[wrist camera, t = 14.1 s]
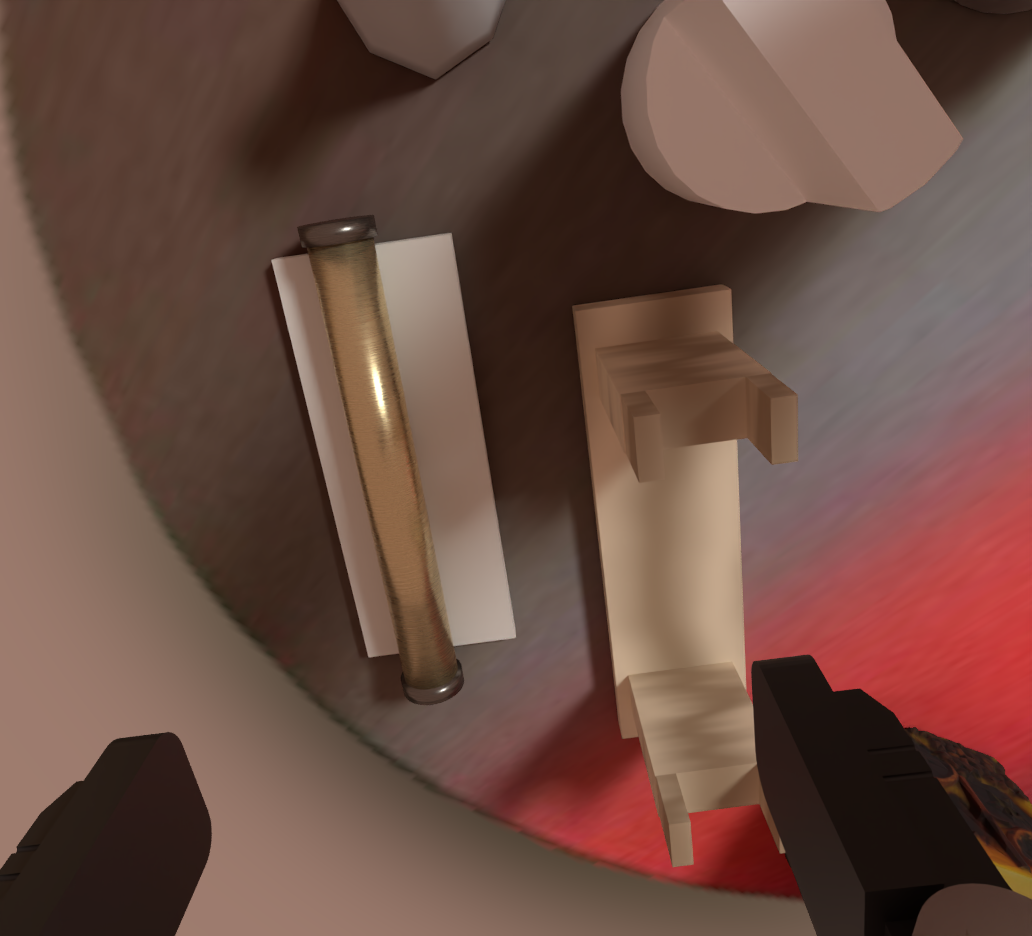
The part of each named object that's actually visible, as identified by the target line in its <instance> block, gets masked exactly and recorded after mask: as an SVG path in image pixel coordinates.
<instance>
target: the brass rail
mask: <svg viewBox="0 0 1032 936" xmlns="http://www.w3.org/2000/svg"><path fill="white" fill-rule="evenodd" d="M297 229H298V233H299V237H300V242H301V246H302V247H303V248H307V250H308V255H309V259H310V264H311V268H312V272H313V277H314V281H315V286H316V290H317V294H318V299H319V303H320V308H321V312H322V316H323V321H324V325H325V330H326V334H327V338H328V343H329V347H330V352H331V356H332V360H333V365H334V369H335V374H336V378H337V382H338V387H339V391H340V396H341V400H342V404H343V409H344V413H345V418H346V422H347V427H348V431H349V435H350V440H351V444H352V449H353V453H354V457H355V462H356V466H357V471H358V475H359V479H360V484H361V488H362V493H363V497H364V501H365V506H366V510H367V515H368V519H369V523H370V528H371V532H372V537H373V541H374V545H375V550H376V554H377V559H378V563H379V567H380V572H381V576H382V581H383V585H384V589H385V594H386V598H387V603H388V607H389V612H390V616H391V620H392V625H393V629H394V634H395V638H396V642H397V647H398V651H399V656H400V660H401V664H402V669H403V672H402V675H401V682H402V686H403V691H404V695H405V697H406V698H407V699H408V700H409V701H411V702H413V703H415V704H420V705H432V704H438V703H441V702H444V701H446V700H448V699H450V698H452V697H453V696H455V695H456V694H457V693H458V692H459V691H460V690H461V688H462V686H463V684H464V677H463V672H462V666H461V663H460V662H459V660H458V659H456V656H455V651H454V646H453V640H452V635H451V630H450V625H449V620H448V615H447V610H446V605H445V600H444V595H443V590H442V584H441V579H440V574H439V569H438V564H437V559H436V554H435V549H434V544H433V539H432V533H431V528H430V523H429V518H428V513H427V508H426V503H425V498H424V493H423V488H422V483H421V477H420V472H419V467H418V462H417V457H416V452H415V447H414V442H413V437H412V432H411V427H410V421H409V416H408V411H407V406H406V401H405V396H404V391H403V386H402V381H401V376H400V370H399V365H398V360H397V355H396V350H395V345H394V340H393V335H392V330H391V325H390V320H389V314H388V309H387V304H386V299H385V294H384V289H383V284H382V279H381V274H380V269H379V263H378V258H377V253H376V248H375V243H374V238H373V237H375V236H377V235H378V234H377V229H376V223H375V218H374V215H366V216H357V217H349V218H342V219H335V220H329V221H323V222H317V223H312V224H307V225H303V226H299V227H297Z"/></svg>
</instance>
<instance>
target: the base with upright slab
mask: <svg viewBox="0 0 1032 936" xmlns="http://www.w3.org/2000/svg"><path fill="white" fill-rule="evenodd" d="M621 104H622V121H623V124H624V128H625V131H626V134H627V137H628V141H629V144H630V147H631V149H632V151H633V152H634V154H635V156H636V157H637V159H638V160H639V162H640V164H641V165H642V167H643V168H644V170H645V172H647V173H648V174H649V175H650V176H651V177H652V178H653V179H654V180H655V181H656V182H658V183H659V184H660V185H661V186H662V187H663V188H664V189H666V190H668V191H670V192H672V193H674V194H676V195H678V196H680V197H682V198H684V199H686V200H688V201H693V202H697V203H702V204H706V205H711V206H715V207H720V208H724V209H730V210H736V211H742V212H748V213H754V214H756V213H765V212H773V211H782V210H787V209H790V208H793V207H795V206H798V205H800V204H803V203H805V202H812V203H819V204H826V205H833V206H840V207H847V208H854V209H861V210H868V211H875V212H881V211H884V210H886V209H889V208H891V207H893V206H894V205H896V204H897V203H899V202H900V201H902V200H903V199H904V198H906V197H907V196H909V195H910V194H912V193H913V192H915V191H916V190H917V189H919V188H920V187H922V186H923V185H925V184H926V183H927V182H928V181H929V180H930V179H931V178H932V177H933V175H934V174H935V173H936V172H937V171H938V170H939V169H940V168H941V167H942V166H943V165H944V164H945V162H946V161H947V160H948V159H949V158H950V157H951V156H952V155H953V154H954V153H955V152H956V150H957V149H958V147H959V145H960V144H961V142H962V140H963V138H962V136H961V135H960V133H959V132H958V130H957V129H956V127H955V126H954V124H953V123H952V121H951V120H950V118H949V117H948V115H947V114H946V113H945V111H944V110H943V108H942V107H941V105H940V104H939V102H938V101H937V99H936V98H935V96H934V95H933V93H932V92H931V90H930V89H929V87H928V86H927V85H926V83H925V82H924V80H923V79H922V77H921V76H920V74H919V73H918V71H917V70H916V68H915V67H914V65H913V64H912V62H911V61H910V60H909V58H908V57H907V55H906V54H905V52H904V51H903V49H902V48H901V46H900V45H899V43H898V42H897V40H896V34H895V29H894V23H893V18H892V13H891V11H890V9H889V6H888V4H887V2H886V0H664V1H663V2H662V3H661V4H660V5H659V6H658V7H657V8H656V10H655V11H654V12H653V14H652V15H651V16H650V18H649V19H648V20H647V22H646V23H645V24H644V26H643V27H642V28H641V29H640V31H639V33H638V35H637V37H636V40H635V42H634V44H633V46H632V49H631V51H630V53H629V55H628V58H627V60H626V65H625V71H624V76H623V81H622V87H621Z"/></svg>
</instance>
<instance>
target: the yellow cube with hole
mask: <svg viewBox="0 0 1032 936" xmlns="http://www.w3.org/2000/svg"><path fill="white" fill-rule="evenodd" d="M905 731H906V732H907V734H908V735H909V737H910V738H911V740H912V741H913V743H914V744H915V749H916V751H919V752H920V753H921V755H922V756H923V758H924V759H925V761H926V762H927V764H928V765H929V767H930V768H931V770H932V774H933V777H934V778H937V779H938V780H939V782H940V783H941V785H942V786H943V788H944V789H945V791H946V792H947V794H948V795H949V797H950V798H951V800H952V801H953V803H954V804H955V806H956V808H957V809H958V811H959V812H960V814H961V815H962V817H963V818H964V820H965V821H966V823H967V824H968V826H969V827H970V829H971V830H972V832H973V833H974V835H975V836H976V838H977V839H978V841H979V842H980V844H981V845H982V847H983V848H984V850H985V851H986V853H987V854H988V856H989V857H990V859H991V860H992V862H993V863H994V865H995V866H996V868H997V869H998V871H999V872H1000V874H1001V875H1002V877H1003V878H1004V880H1005V881H1006V882H1007V884H1008V885H1009V886H1010V888H1011V889H1012V890H1013V891H1014V892H1017V893H1019V894H1021V895H1024V896H1026V897H1028V898H1030V899H1032V805H1031V803H1030V801H1029V798H1028V797H1027V796H1025V795H1024V793H1023V791H1022V790H1021V789H1020V788H1019V787H1018V786H1017V785H1016V784H1015V783H1014V782H1013V781H1012V780H1010V779H1009V778H1008V777H1007V776H1006V775H1005V769H1004V767H1003V766H1002V765H1001V764H1000V763H999V762H998V761H996V760H995V759H994V758H993V757H991V756H988V755H986V754H983V753H980V752H978V751H975V750H972V749H968V748H965V747H964V746H962V745H961V744H960V743H955V742H953V741H950V740H947V739H944V738H941V737H937V736H936V735H934V734H932V733H929V732H927V731H918V729H917V728H915V727H914V728H908V729H905ZM785 857H786V859H787V861H788V863H789V860H788V858H787V855H786V853H785ZM789 865H790V863H789ZM790 867H791V866H790Z"/></svg>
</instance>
